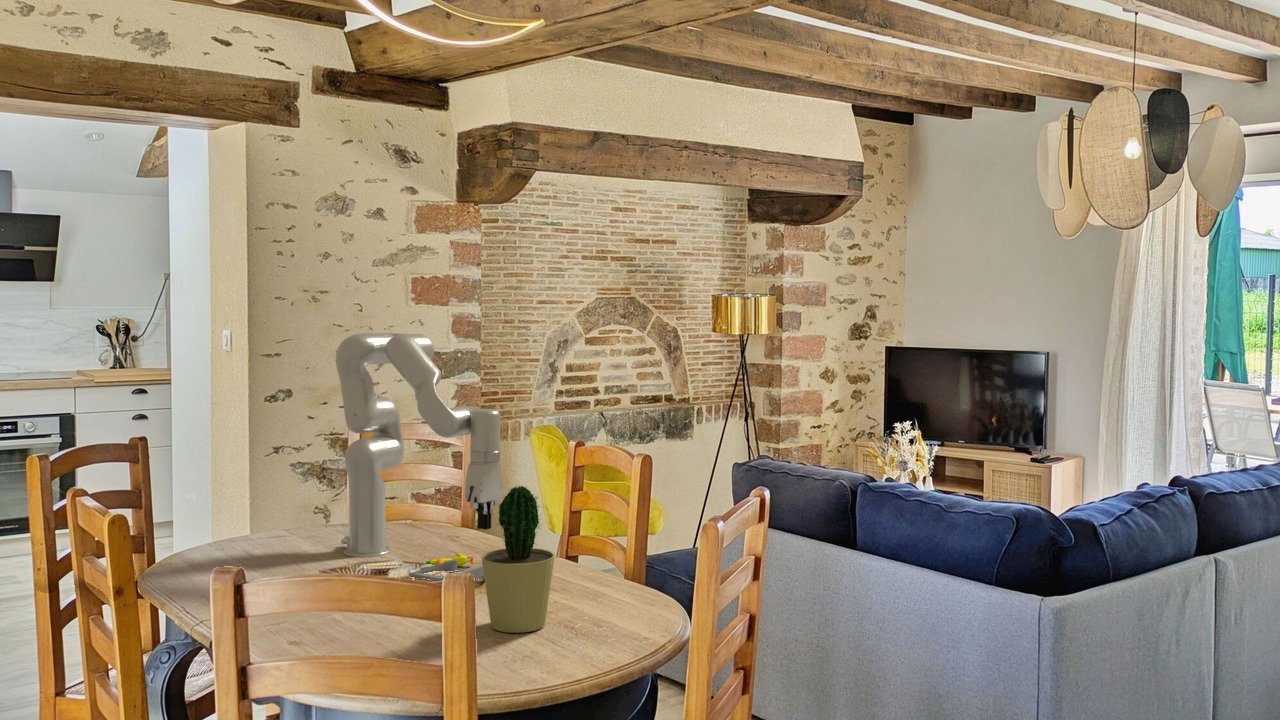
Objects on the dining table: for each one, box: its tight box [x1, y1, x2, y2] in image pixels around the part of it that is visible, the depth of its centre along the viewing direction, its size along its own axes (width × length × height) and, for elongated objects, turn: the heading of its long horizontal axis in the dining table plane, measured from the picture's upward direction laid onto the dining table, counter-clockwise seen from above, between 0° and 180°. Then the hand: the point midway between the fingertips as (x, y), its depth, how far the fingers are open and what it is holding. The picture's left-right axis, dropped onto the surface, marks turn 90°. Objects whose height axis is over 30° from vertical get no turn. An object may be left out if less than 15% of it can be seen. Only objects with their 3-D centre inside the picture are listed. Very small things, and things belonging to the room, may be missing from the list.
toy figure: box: [425, 552, 474, 568], centre depth 271 cm, size 7×4×12 cm
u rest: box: [408, 560, 484, 583], centre depth 258 cm, size 12×16×3 cm
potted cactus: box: [480, 485, 555, 634], centre depth 222 cm, size 15×15×30 cm
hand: (484, 528), depth 270 cm, fingers closed
